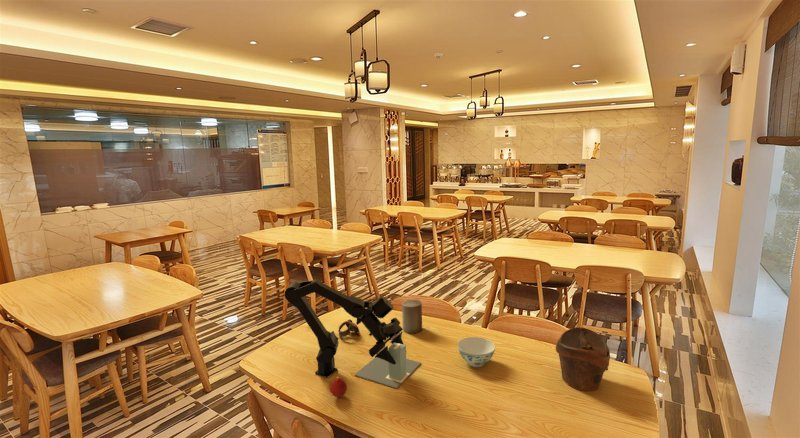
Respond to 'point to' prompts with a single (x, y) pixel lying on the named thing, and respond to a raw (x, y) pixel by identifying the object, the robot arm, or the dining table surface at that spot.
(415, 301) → the pillar candle
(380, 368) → the mat
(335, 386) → the pomegranate
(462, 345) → the chinaware
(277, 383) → the dining table surface
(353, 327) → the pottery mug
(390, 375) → the block
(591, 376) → the brown flower pot
